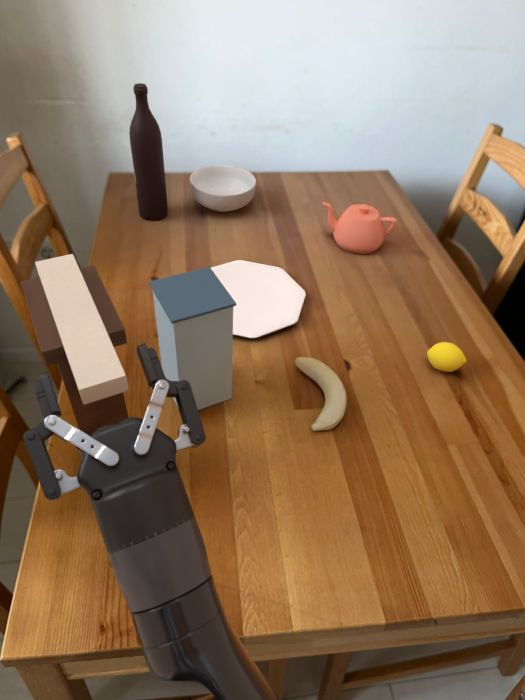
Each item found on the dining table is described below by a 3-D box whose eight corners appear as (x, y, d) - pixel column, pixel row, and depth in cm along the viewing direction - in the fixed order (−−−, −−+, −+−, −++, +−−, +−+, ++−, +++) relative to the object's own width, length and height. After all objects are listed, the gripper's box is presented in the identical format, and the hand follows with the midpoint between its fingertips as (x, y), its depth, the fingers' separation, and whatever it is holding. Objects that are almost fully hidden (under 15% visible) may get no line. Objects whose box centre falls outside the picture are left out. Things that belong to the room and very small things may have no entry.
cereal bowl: (261, 218, 129) (262, 192, 124) (195, 223, 126) (194, 197, 121) (247, 186, 141) (248, 162, 136) (186, 190, 138) (185, 165, 133)
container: (180, 417, 84) (171, 321, 69) (161, 378, 89) (148, 281, 75) (234, 398, 87) (236, 303, 72) (211, 361, 93) (209, 266, 78)
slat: (83, 405, 44) (78, 390, 43) (39, 276, 56) (34, 261, 55) (129, 390, 46) (126, 375, 44) (76, 268, 58) (72, 253, 56)
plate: (220, 355, 94) (220, 350, 93) (169, 285, 108) (168, 279, 107) (325, 317, 103) (326, 311, 102) (265, 256, 117) (265, 251, 116)
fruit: (331, 363, 94) (334, 350, 92) (354, 429, 84) (357, 416, 81) (293, 366, 93) (294, 353, 91) (311, 433, 83) (313, 420, 80)
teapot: (389, 261, 119) (399, 225, 112) (313, 248, 121) (318, 212, 114) (391, 234, 127) (401, 199, 121) (320, 222, 129) (325, 187, 123)
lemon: (421, 372, 94) (430, 351, 90) (423, 353, 98) (431, 332, 94) (461, 382, 93) (471, 361, 89) (461, 361, 96) (471, 341, 93)
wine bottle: (161, 204, 132) (149, 78, 111) (172, 217, 128) (162, 88, 107) (135, 210, 129) (117, 82, 108) (146, 223, 125) (130, 93, 104)
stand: (99, 515, 71) (41, 352, 48) (78, 449, 78) (20, 281, 56) (154, 493, 74) (124, 329, 51) (130, 431, 81) (94, 264, 59)
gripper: (241, 503, 42) (174, 323, 45) (62, 581, 37) (-1, 373, 40) (222, 504, 49) (165, 349, 52) (69, 570, 44) (15, 393, 47)
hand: (93, 359), depth 46 cm, fingers open, 8 cm apart
